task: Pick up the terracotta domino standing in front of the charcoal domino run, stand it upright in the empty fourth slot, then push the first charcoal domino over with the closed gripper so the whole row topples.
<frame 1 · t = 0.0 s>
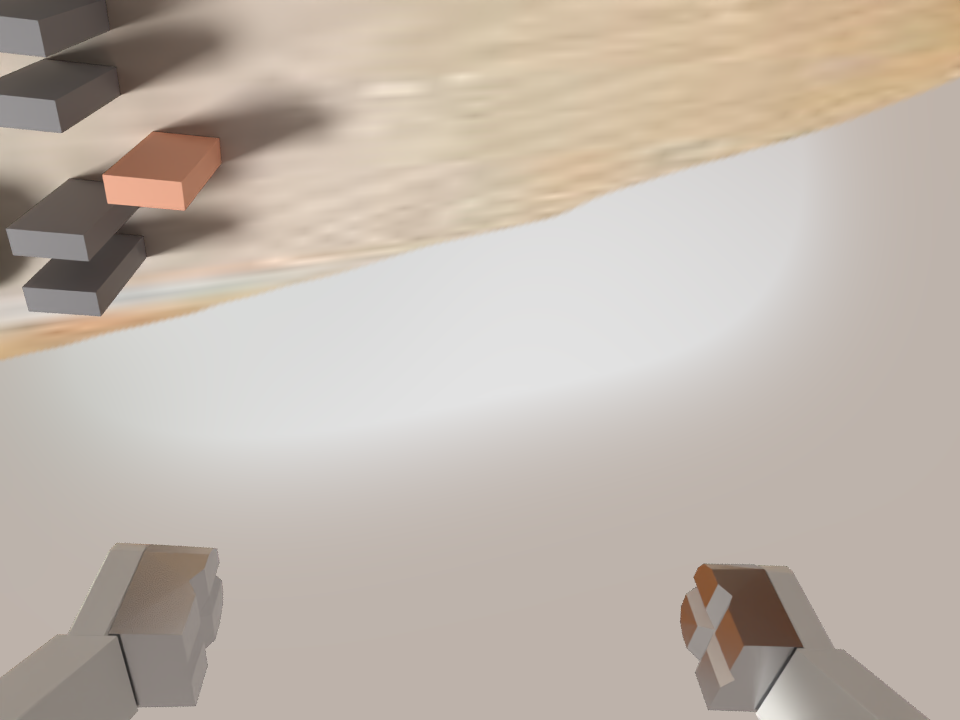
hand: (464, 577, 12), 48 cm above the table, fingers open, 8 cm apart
domino 2: (70, 10, 48), on the table
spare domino: (187, 147, 54), on the table
domino 6: (114, 244, 58), on the table
domino 3: (82, 77, 51), on the table
domino 5: (104, 193, 56), on the table
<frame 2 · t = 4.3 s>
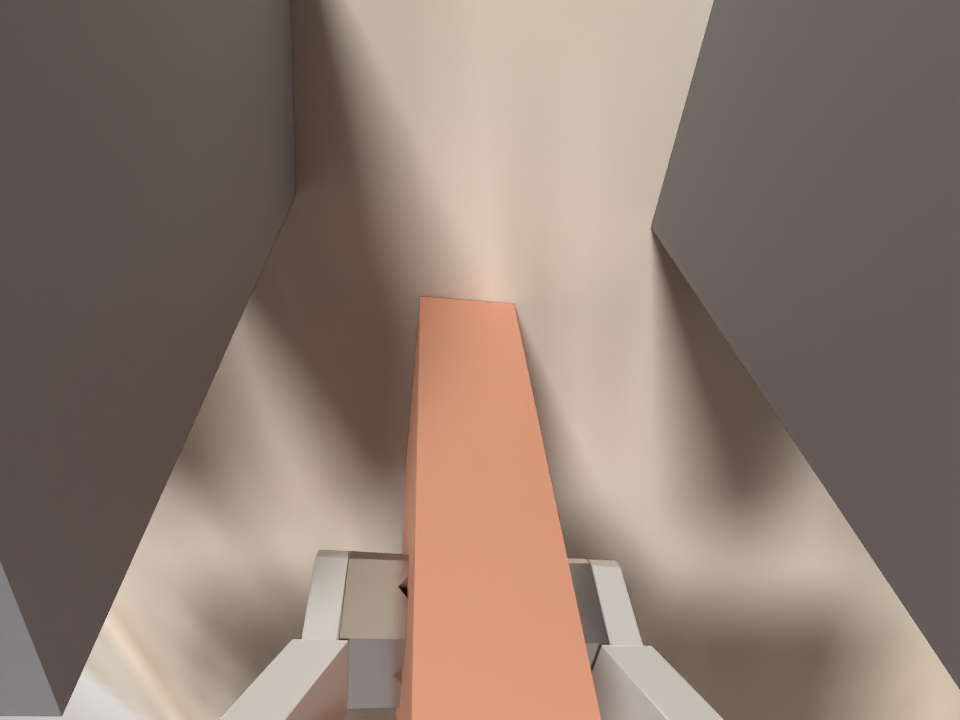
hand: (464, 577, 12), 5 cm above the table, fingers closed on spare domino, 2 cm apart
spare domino: (455, 394, 16), on the table, touching gripper
domino 3: (738, 105, 13), on the table
domino 5: (231, 45, 11), on the table
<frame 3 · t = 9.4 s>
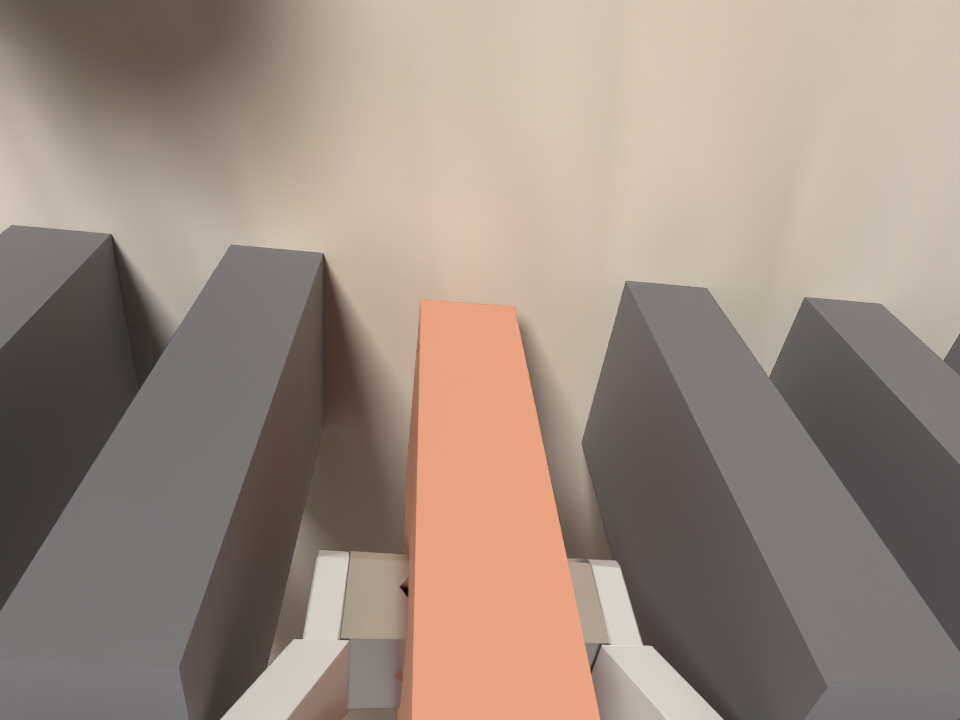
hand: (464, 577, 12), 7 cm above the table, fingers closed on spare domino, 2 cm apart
domino 2: (803, 383, 18), on the table
domino 1: (958, 394, 19), on the table
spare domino: (456, 397, 16), point 1 cm above the table, touching gripper
domino 6: (84, 329, 16), on the table
domino 3: (639, 370, 18), on the table
domino 5: (281, 343, 17), on the table, touching gripper
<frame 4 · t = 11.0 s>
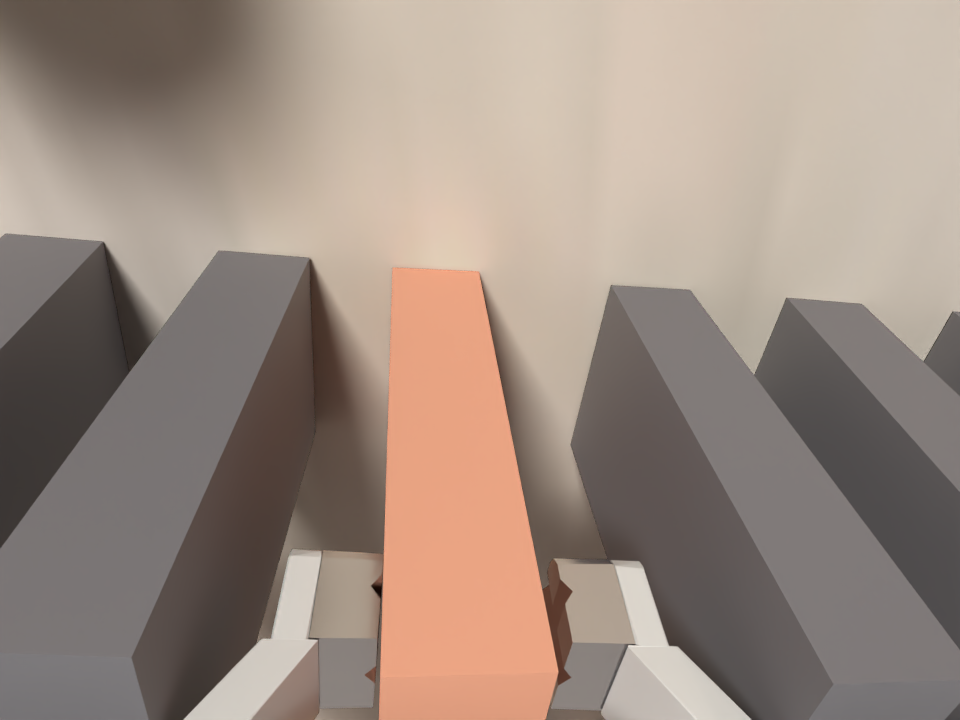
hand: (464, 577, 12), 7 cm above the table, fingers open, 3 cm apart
domino 2: (787, 382, 18), on the table
domino 1: (940, 392, 19), on the table
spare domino: (429, 359, 17), on the table, touching gripper
domino 6: (78, 334, 16), on the table
domino 3: (626, 372, 18), on the table
domino 5: (271, 348, 17), on the table, touching gripper
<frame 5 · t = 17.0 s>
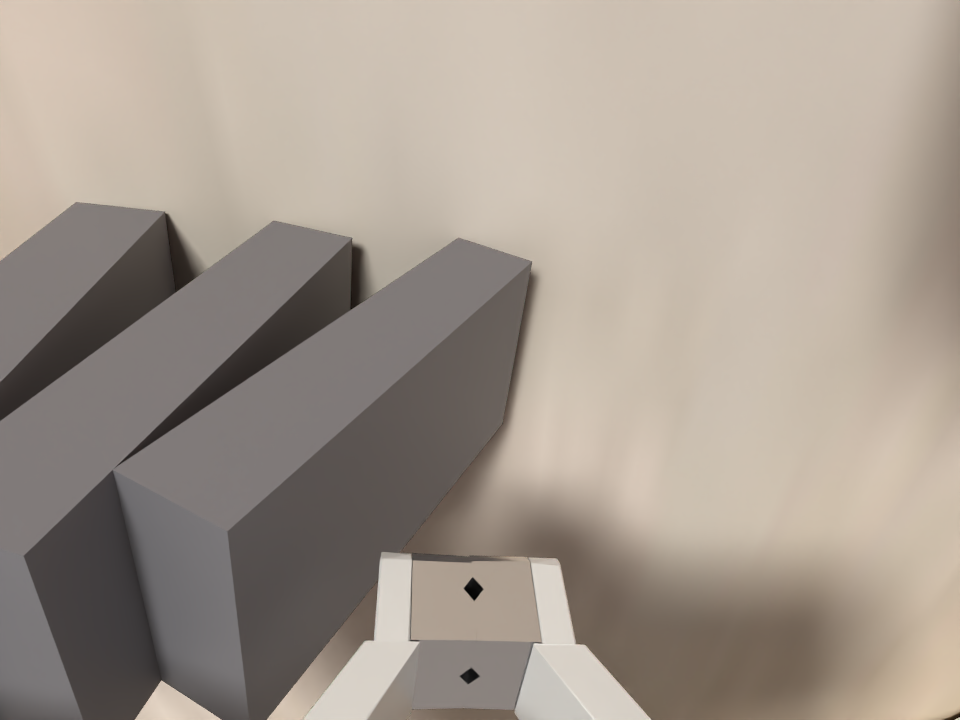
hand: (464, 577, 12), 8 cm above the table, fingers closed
domino 2: (313, 319, 18), on the table, tilted 17°
domino 1: (481, 336, 18), on the table, tilted 30°
domino 3: (136, 300, 17), on the table
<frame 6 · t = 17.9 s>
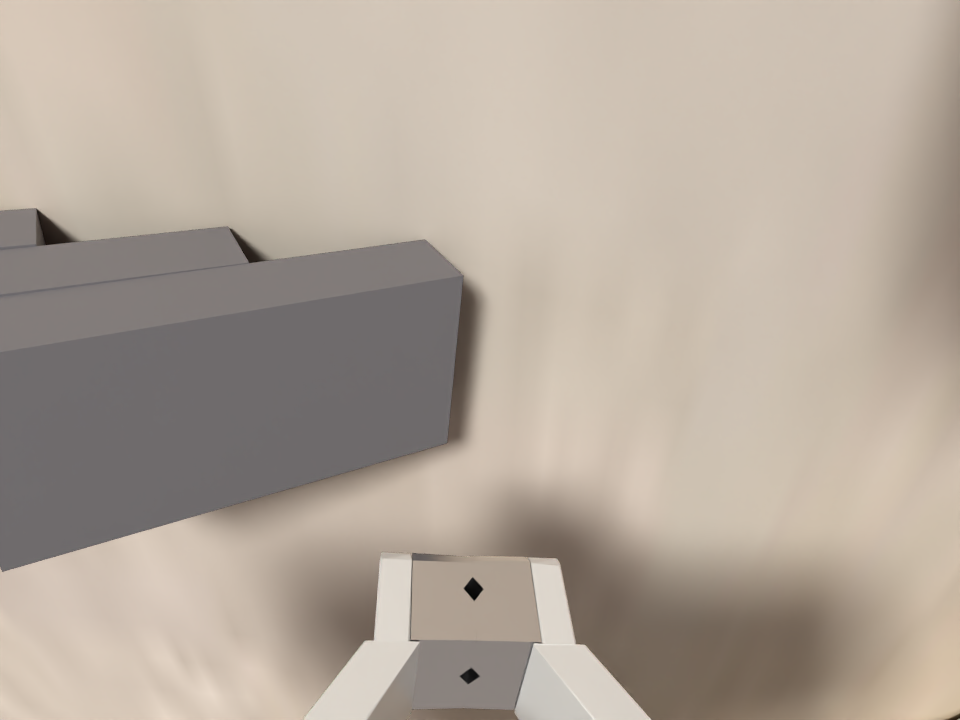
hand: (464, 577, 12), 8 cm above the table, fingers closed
domino 2: (246, 336, 17), point 1 cm above the table, tilted 64°, touching domino 1, domino 3
domino 1: (436, 345, 18), point 1 cm above the table, tilted 64°, touching domino 2
domino 3: (61, 322, 17), point 1 cm above the table, tilted 66°, touching domino 2, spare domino
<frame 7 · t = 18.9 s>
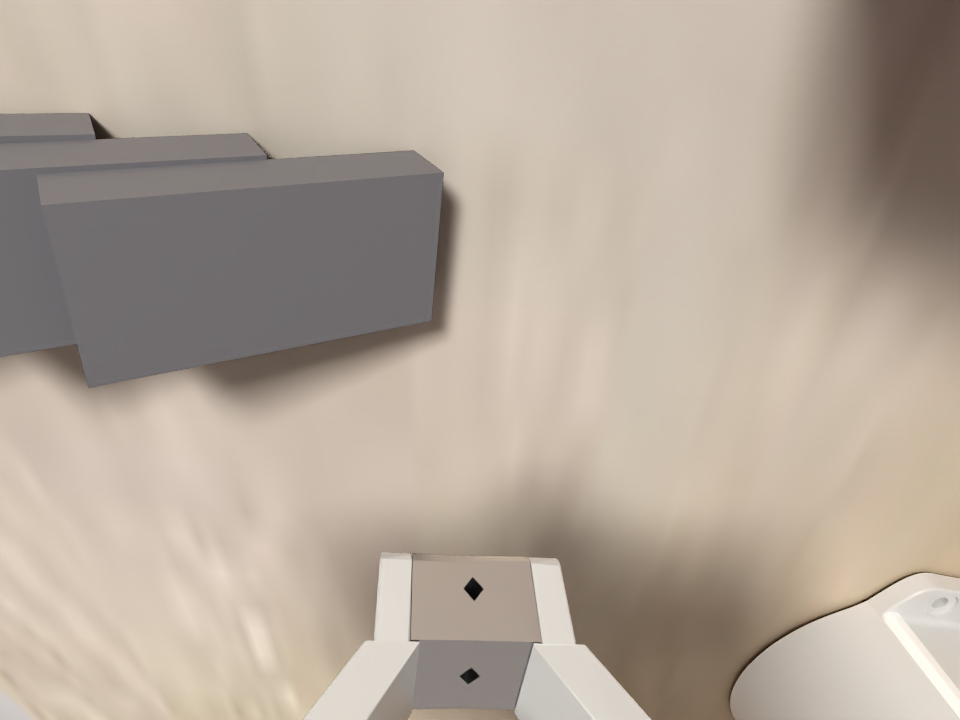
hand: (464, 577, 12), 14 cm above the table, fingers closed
domino 2: (262, 225, 21), point 1 cm above the table, tilted 65°, touching domino 1, domino 3
domino 1: (422, 238, 22), point 1 cm above the table, tilted 65°, touching domino 2
domino 3: (107, 208, 20), point 1 cm above the table, tilted 67°, touching domino 2
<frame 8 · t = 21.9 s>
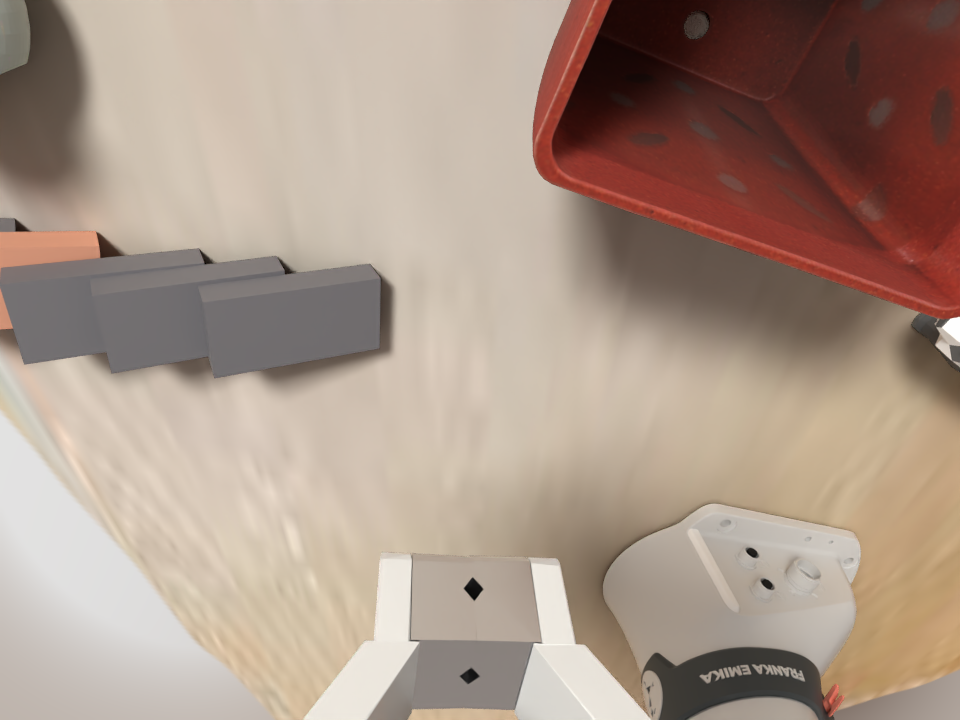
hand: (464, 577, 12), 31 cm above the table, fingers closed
domino 2: (283, 299, 42), point 1 cm above the table, tilted 66°, touching domino 3
domino 1: (374, 306, 43), point 1 cm above the table, tilted 67°
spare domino: (100, 277, 41), point 1 cm above the table, tilted 64°, touching domino 3, domino 5
domino 3: (206, 292, 42), point 1 cm above the table, tilted 66°, touching domino 2, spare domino
domino 5: (19, 265, 40), point 1 cm above the table, tilted 64°, touching domino 6, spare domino
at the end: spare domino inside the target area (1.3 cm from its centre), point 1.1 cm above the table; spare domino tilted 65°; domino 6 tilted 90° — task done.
